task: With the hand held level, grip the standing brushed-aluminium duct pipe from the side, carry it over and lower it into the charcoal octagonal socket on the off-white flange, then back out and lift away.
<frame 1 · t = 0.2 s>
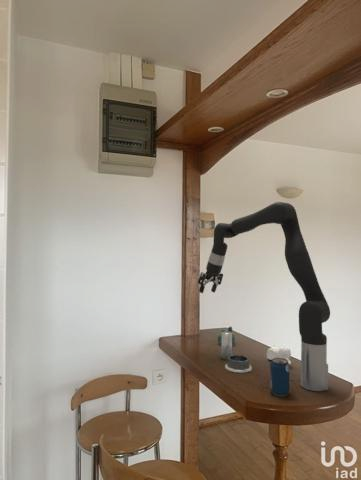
hand: (207, 292, 177), 30 cm above the breakfast bar, tool tilted 20°, fingers open, 8 cm apart
dark teal irregular lump: (226, 345, 192), on the breakfast bar
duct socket: (238, 368, 155), on the breakfast bar
white crumpled piece: (279, 363, 163), on the breakfast bar
soda can: (279, 393, 129), on the breakfast bar
duct pipe: (226, 357, 169), on the breakfast bar
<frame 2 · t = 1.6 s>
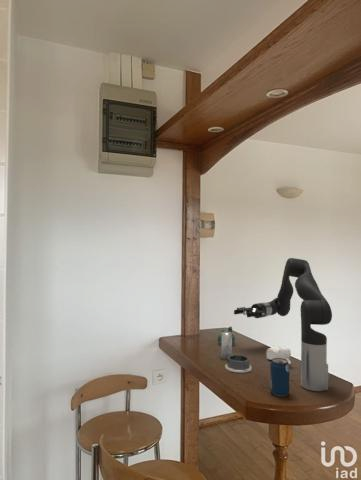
hand: (240, 313, 176), 20 cm above the breakfast bar, tool horizontal, fingers open, 8 cm apart
nothing on the breakfast bar moved.
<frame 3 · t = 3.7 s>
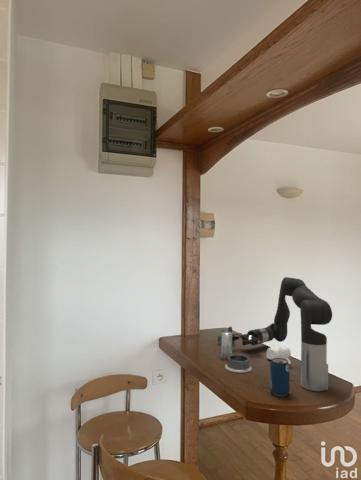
hand: (236, 341, 173), 7 cm above the breakfast bar, tool horizontal, fingers open, 8 cm apart
nothing on the breakfast bar moved.
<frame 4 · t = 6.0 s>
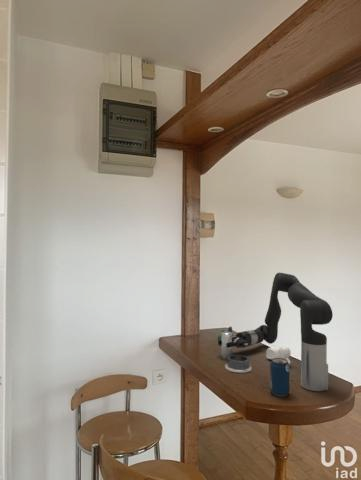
hand: (222, 344, 168), 7 cm above the breakfast bar, tool horizontal, fingers closed on duct pipe, 5 cm apart
duct pipe: (226, 357, 169), on the breakfast bar, touching gripper
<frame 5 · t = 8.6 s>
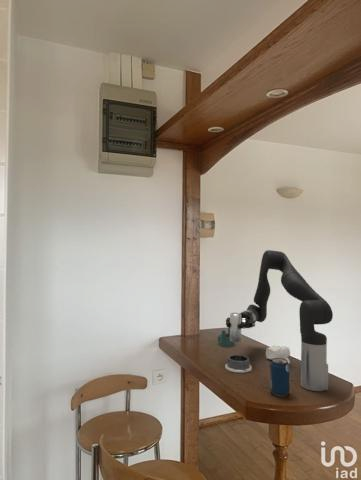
hand: (233, 326, 156), 18 cm above the breakfast bar, tool horizontal, fingers closed on duct pipe, 5 cm apart
duct pipe: (235, 340, 158), point 11 cm above the breakfast bar, touching gripper
when the fingers open (10 cm above the breakfast bar, at t = 11.6 s): duct pipe drops 2 cm, resting on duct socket.
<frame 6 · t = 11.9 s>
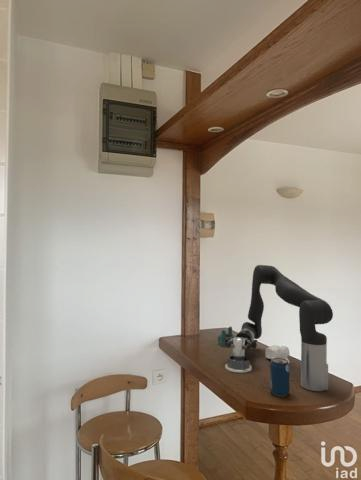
hand: (237, 346, 153), 10 cm above the breakfast bar, tool horizontal, fingers open, 8 cm apart
duct pipe: (238, 365, 155), point 1 cm above the breakfast bar, touching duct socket
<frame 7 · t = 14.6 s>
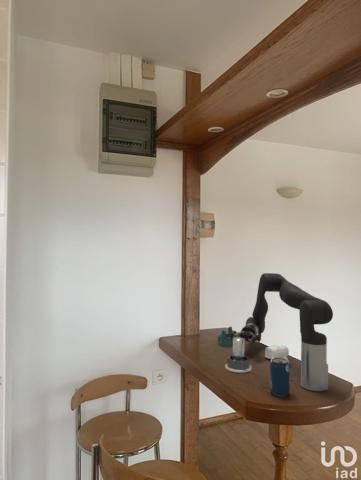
hand: (243, 340, 164), 10 cm above the breakfast bar, tool horizontal, fingers open, 8 cm apart
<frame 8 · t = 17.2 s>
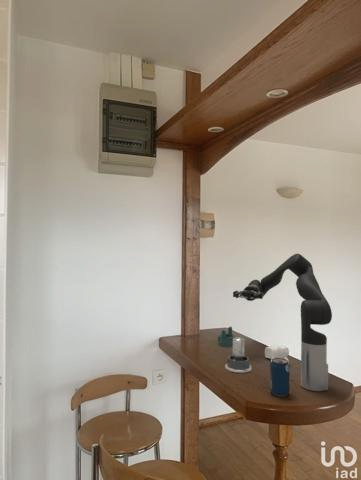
hand: (245, 296, 167), 30 cm above the breakfast bar, tool horizontal, fingers open, 8 cm apart
at the end: duct pipe 0.1 cm off-centre on the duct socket, point 1.0 cm above the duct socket's base; duct pipe tilted 0°; the gripper is holding nothing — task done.
